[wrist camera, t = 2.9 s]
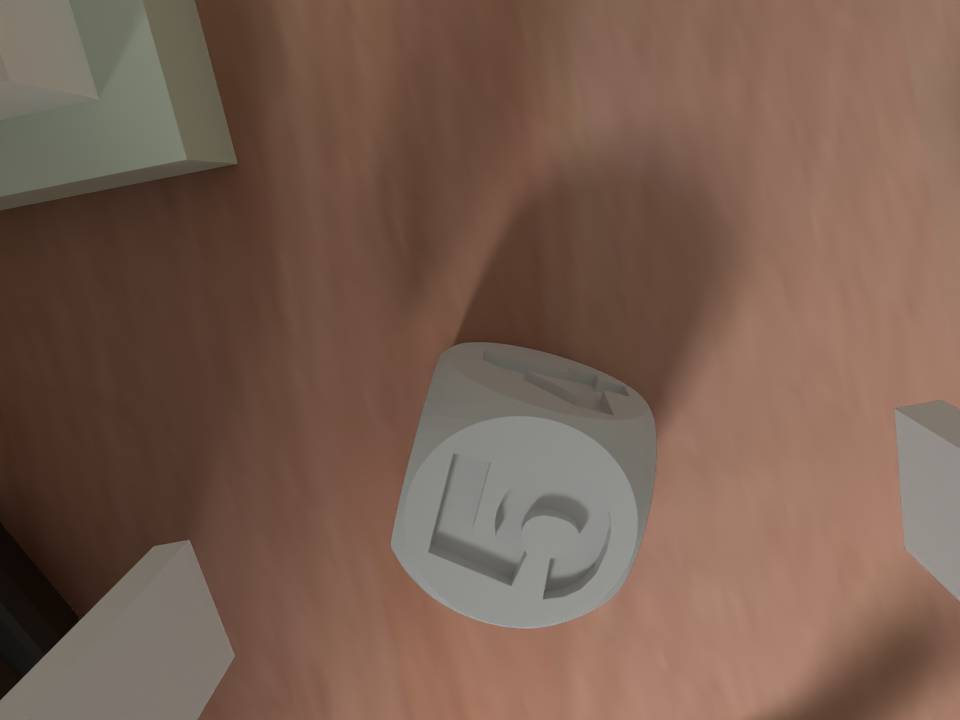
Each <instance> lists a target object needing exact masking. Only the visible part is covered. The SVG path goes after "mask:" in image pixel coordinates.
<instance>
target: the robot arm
mask: <svg viewBox="0 0 960 720" xmlns="http://www.w3.org/2000/svg"><path fill="white" fill-rule="evenodd" d="M895 423H896V437H897V451H898V465H899V479H900V493H901V507H902V521H903V535H904V548H905V549H906V550H907V551H908V552H909V553H910V554H911V555H912V556H913V557H914V558H915V559H916V560H917V561H918V562H919V563H920V564H921V565H922V566H923V567H924V568H925V569H926V570H927V571H928V572H929V573H931V574H932V575H933V576H934V577H935V578H936V579H937V580H938V581H939V582H940V583H941V584H942V585H943V586H944V587H945V588H946V589H947V590H948V591H949V592H950V593H951V594H952V595H953V596H954V597H955V598H956V599H958V600H959V601H960V409H958V408H956V407H955V406H953V405H951V404H949V403H947V402H945V401H943V400H938V401H933V402H927V403H922V404H917V405H911V406H906V407H900V408H895ZM234 657H235V655H234V652H233V649H232V647H231V644H230V642H229V639H228V637H227V634H226V632H225V629H224V626H223V624H222V621H221V619H220V616H219V614H218V611H217V609H216V606H215V603H214V601H213V598H212V596H211V593H210V591H209V588H208V586H207V583H206V581H205V578H204V575H203V573H202V570H201V568H200V565H199V563H198V560H197V558H196V555H195V552H194V550H193V547H192V545H191V542H190V540H185V541H180V542H174V543H169V544H164V545H158V546H154V547H153V548H152V549H151V550H150V551H149V552H148V553H147V554H146V555H145V556H144V557H143V558H142V559H141V560H140V561H139V562H138V563H137V564H136V565H135V566H134V567H133V568H132V569H131V570H130V571H129V572H128V573H127V574H126V575H125V576H124V577H123V578H122V579H121V580H120V581H119V582H118V583H117V584H116V585H115V586H114V587H113V588H112V589H111V590H110V591H109V592H108V593H107V594H106V595H105V596H104V597H103V598H102V599H101V600H100V601H99V602H98V603H97V604H96V605H95V606H94V607H93V608H92V609H91V610H90V611H89V612H88V613H87V614H86V615H85V616H84V617H83V618H82V619H81V620H80V621H79V622H78V623H77V624H76V625H75V626H74V627H73V628H72V629H71V630H70V631H69V632H68V633H67V634H66V635H65V636H64V637H63V638H62V639H61V640H60V641H59V642H58V643H57V644H56V645H55V646H54V647H53V648H52V649H51V650H50V651H49V652H48V653H47V654H46V655H45V656H44V657H43V658H42V659H41V660H40V661H39V662H38V663H37V664H36V665H35V666H34V667H33V668H32V669H31V670H30V671H29V672H28V673H27V674H26V675H25V676H24V677H23V678H22V679H21V680H20V681H19V682H18V683H17V684H16V685H15V686H14V687H13V688H12V689H11V690H10V691H9V692H8V693H7V694H6V695H5V696H4V697H3V698H2V699H1V700H0V720H198V718H199V716H200V714H201V713H202V711H203V709H204V708H205V706H206V704H207V703H208V701H209V699H210V698H211V696H212V694H213V693H214V691H215V689H216V688H217V686H218V684H219V683H220V681H221V679H222V678H223V676H224V674H225V673H226V671H227V669H228V667H229V666H230V664H231V662H232V661H233V659H234Z"/></svg>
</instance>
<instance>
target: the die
mask: <svg viewBox="0 0 960 720" xmlns="http://www.w3.org/2000/svg"><path fill="white" fill-rule="evenodd" d="M656 459H657V436H656V427H655V421H654V417H653V414H652V411H651V410H650V408H649V406H648V404H647V402H646V401H645V400H644V398H643V397H642V396H641V395H640V394H639V393H637V392H636V391H635V390H634V389H632V388H631V387H629V386H628V385H626V384H625V383H623V382H621V381H619V380H618V379H616V378H614V377H612V376H610V375H608V374H606V373H603V372H601V371H599V370H597V369H594V368H592V367H589V366H587V365H584V364H581V363H579V362H576V361H573V360H570V359H567V358H564V357H560V356H557V355H554V354H550V353H546V352H542V351H538V350H534V349H530V348H525V347H520V346H514V345H508V344H500V343H489V342H469V343H461V344H457V345H454V346H452V347H450V348H449V349H447V350H445V351H444V352H442V353H441V354H440V357H439V359H438V362H437V364H436V367H435V370H434V373H433V376H432V380H431V383H430V386H429V389H428V393H427V396H426V400H425V403H424V407H423V410H422V414H421V417H420V421H419V425H418V428H417V432H416V436H415V439H414V443H413V447H412V451H411V455H410V459H409V463H408V467H407V471H406V475H405V479H404V483H403V487H402V491H401V495H400V500H399V504H398V509H397V513H396V518H395V523H394V527H393V533H392V539H391V549H392V550H393V552H394V554H395V556H396V557H397V559H398V561H399V562H400V564H401V565H402V566H403V568H404V569H405V570H406V572H407V573H408V574H409V575H410V577H411V578H412V579H413V580H414V581H415V582H416V583H417V584H418V585H419V586H420V587H421V588H422V589H423V590H424V591H425V592H426V593H427V594H429V595H430V596H431V597H433V598H434V599H435V600H437V601H438V602H440V603H441V604H443V605H445V606H446V607H448V608H450V609H452V610H454V611H456V612H458V613H460V614H462V615H465V616H467V617H470V618H472V619H475V620H478V621H481V622H485V623H489V624H493V625H497V626H503V627H510V628H541V627H547V626H553V625H556V624H560V623H564V622H567V621H570V620H573V619H575V618H578V617H580V616H583V615H585V614H587V613H589V612H591V611H593V610H594V609H596V608H598V607H599V606H601V605H602V604H604V603H605V602H607V601H608V600H610V599H611V598H612V597H614V596H615V595H616V594H617V592H618V591H619V590H620V588H621V587H622V585H623V584H624V582H625V580H626V579H627V577H628V575H629V573H630V570H631V568H632V566H633V564H634V561H635V559H636V556H637V553H638V550H639V547H640V544H641V541H642V538H643V535H644V531H645V527H646V523H647V519H648V515H649V511H650V505H651V500H652V494H653V488H654V481H655V472H656Z"/></svg>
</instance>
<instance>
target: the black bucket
mask: <svg viewBox="0 0 960 720" xmlns="http://www.w3.org/2000/svg"><path fill="white" fill-rule="evenodd" d="M77 623H78V616H77V615H76V614H75V612H74V611H73V610H72V609H71V608H70V606H69V605H68V604H67V603H66V602H65V600H64V599H63V598H62V597H61V595H60V594H59V593H58V592H57V591H56V589H55V588H54V587H53V586H52V585H51V583H50V582H49V581H48V580H47V578H46V577H45V576H44V575H43V574H42V572H41V571H40V570H39V569H38V568H37V566H36V565H35V564H34V563H33V561H32V560H31V559H30V558H29V557H28V555H27V554H26V553H25V552H24V551H23V549H22V548H21V547H20V546H19V544H18V543H17V542H16V541H15V540H14V538H13V537H12V536H11V535H10V534H9V532H8V531H7V530H6V529H5V527H4V526H3V525H2V524H1V523H0V700H1V699H2V698H3V697H4V696H5V695H6V694H7V693H8V692H9V691H10V690H11V689H12V688H13V687H14V686H15V685H16V684H17V683H18V682H19V681H20V680H21V679H22V678H23V677H24V676H25V675H26V674H27V673H28V672H29V671H30V670H31V669H32V668H33V667H34V666H35V665H36V664H37V663H38V662H39V661H40V660H41V659H42V658H43V657H44V656H45V655H46V654H47V653H48V652H49V651H50V650H51V649H52V648H53V647H54V646H55V645H56V644H57V643H58V642H59V641H60V640H61V639H62V638H63V637H64V636H65V635H66V634H67V633H68V632H69V631H70V630H71V629H72V628H73V627H74V626H75V625H76V624H77Z"/></svg>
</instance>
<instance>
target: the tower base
mask: <svg viewBox="0 0 960 720" xmlns="http://www.w3.org/2000/svg"><path fill="white" fill-rule="evenodd" d="M234 164H238V163H237V159H236V155H235V151H234V148H233V144H232V140H231V136H230V132H229V129H228V125H227V121H226V117H225V113H224V110H223V106H222V102H221V98H220V94H219V90H218V87H217V83H216V79H215V75H214V71H213V68H212V64H211V60H210V56H209V52H208V49H207V45H206V41H205V37H204V33H203V30H202V26H201V22H200V18H199V14H198V10H197V7H196V3H195V0H0V210H5V209H11V208H16V207H21V206H26V205H31V204H36V203H41V202H46V201H51V200H56V199H61V198H66V197H72V196H77V195H82V194H87V193H92V192H97V191H102V190H107V189H112V188H117V187H122V186H127V185H132V184H138V183H143V182H148V181H153V180H158V179H163V178H168V177H173V176H178V175H183V174H188V173H193V172H199V171H204V170H209V169H214V168H219V167H224V166H229V165H234Z"/></svg>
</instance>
